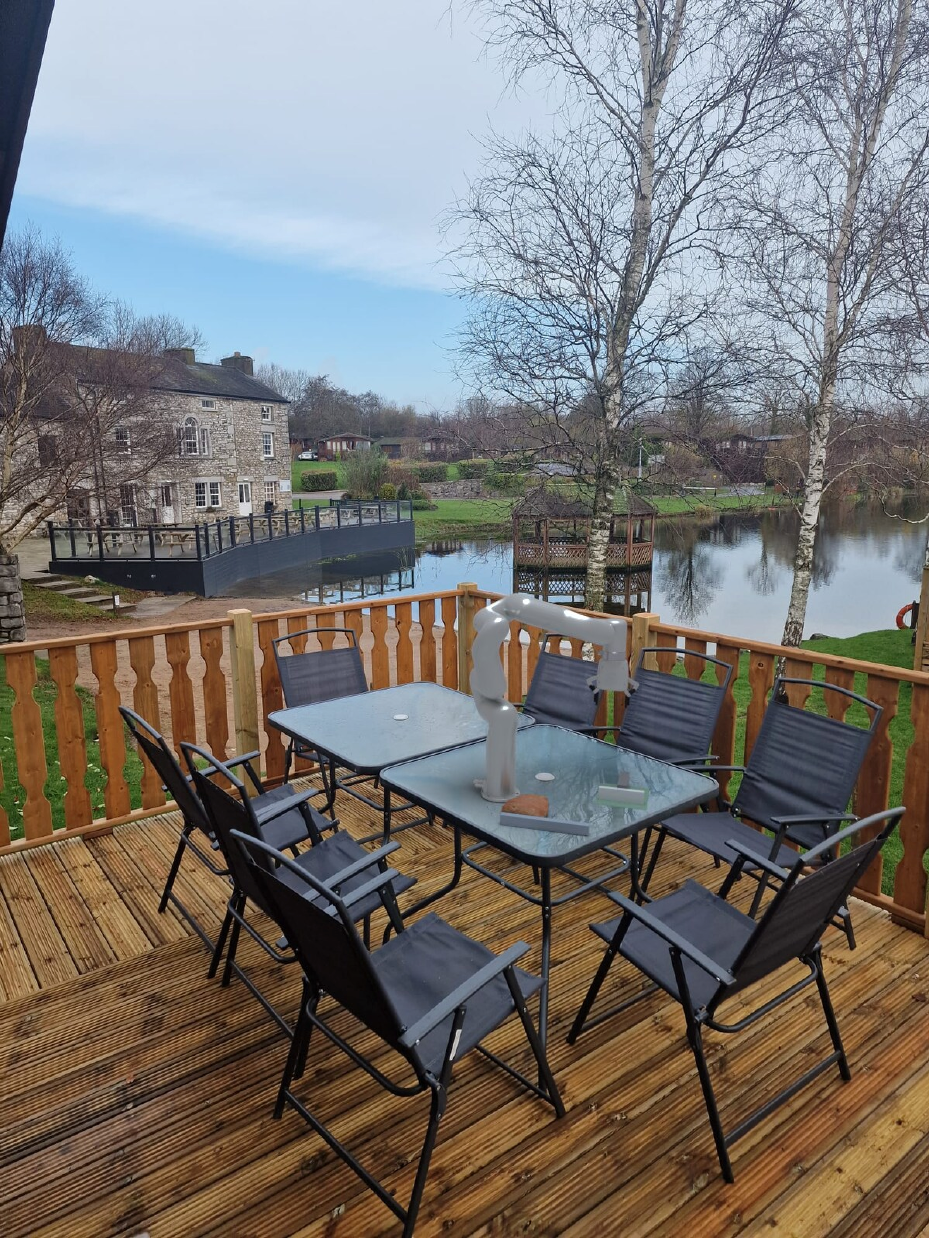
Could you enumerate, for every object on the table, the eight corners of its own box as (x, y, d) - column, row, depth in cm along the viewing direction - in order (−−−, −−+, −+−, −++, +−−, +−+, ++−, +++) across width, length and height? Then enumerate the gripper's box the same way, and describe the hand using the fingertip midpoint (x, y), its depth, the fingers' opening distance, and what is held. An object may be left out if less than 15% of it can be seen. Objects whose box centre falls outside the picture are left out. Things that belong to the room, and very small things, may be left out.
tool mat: (594, 804, 238) (594, 803, 238) (600, 783, 255) (600, 782, 255) (646, 811, 233) (646, 810, 233) (649, 789, 250) (649, 788, 250)
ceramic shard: (567, 795, 232) (541, 819, 221) (565, 813, 235) (540, 837, 224) (526, 778, 241) (499, 800, 229) (525, 796, 243) (499, 818, 232)
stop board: (499, 824, 224) (500, 814, 224) (501, 821, 226) (501, 812, 225) (588, 835, 217) (588, 826, 216) (589, 832, 219) (589, 823, 218)
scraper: (598, 799, 241) (598, 784, 240) (603, 783, 254) (603, 769, 253) (643, 804, 237) (644, 789, 236) (646, 788, 250) (646, 774, 249)
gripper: (586, 656, 249) (583, 706, 252) (639, 660, 244) (636, 711, 247) (589, 651, 256) (587, 700, 259) (641, 655, 251) (638, 705, 254)
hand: (611, 705), depth 253 cm, fingers open, 9 cm apart
